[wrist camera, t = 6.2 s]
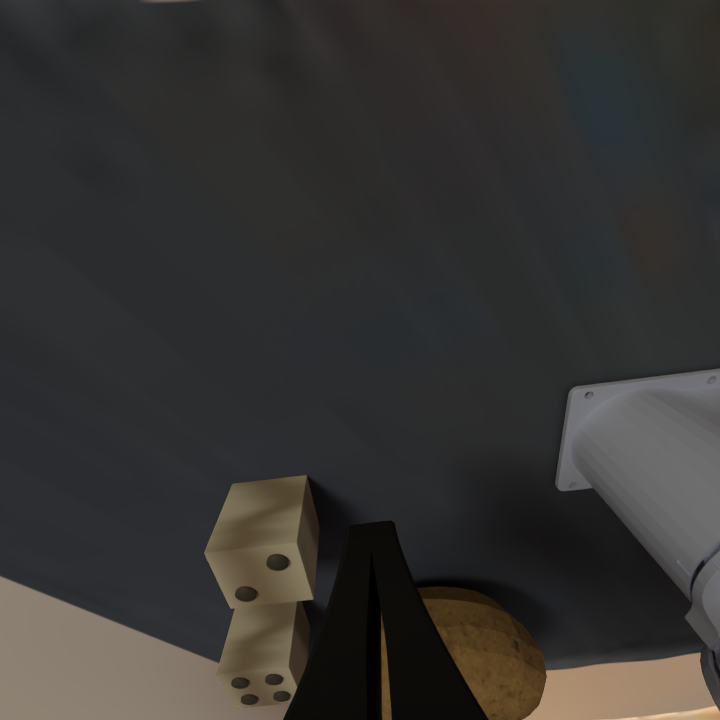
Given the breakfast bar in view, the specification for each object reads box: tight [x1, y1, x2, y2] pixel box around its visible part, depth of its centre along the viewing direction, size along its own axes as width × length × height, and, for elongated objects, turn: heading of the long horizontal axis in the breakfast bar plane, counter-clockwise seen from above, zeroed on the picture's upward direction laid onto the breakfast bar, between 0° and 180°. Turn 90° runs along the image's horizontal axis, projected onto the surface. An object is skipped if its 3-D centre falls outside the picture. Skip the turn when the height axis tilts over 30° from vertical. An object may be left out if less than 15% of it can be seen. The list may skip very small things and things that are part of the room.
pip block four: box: [217, 601, 310, 708], centre depth 27 cm, size 5×5×5 cm
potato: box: [381, 587, 547, 720], centre depth 25 cm, size 10×14×8 cm
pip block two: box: [204, 475, 320, 609], centre depth 21 cm, size 5×5×5 cm
